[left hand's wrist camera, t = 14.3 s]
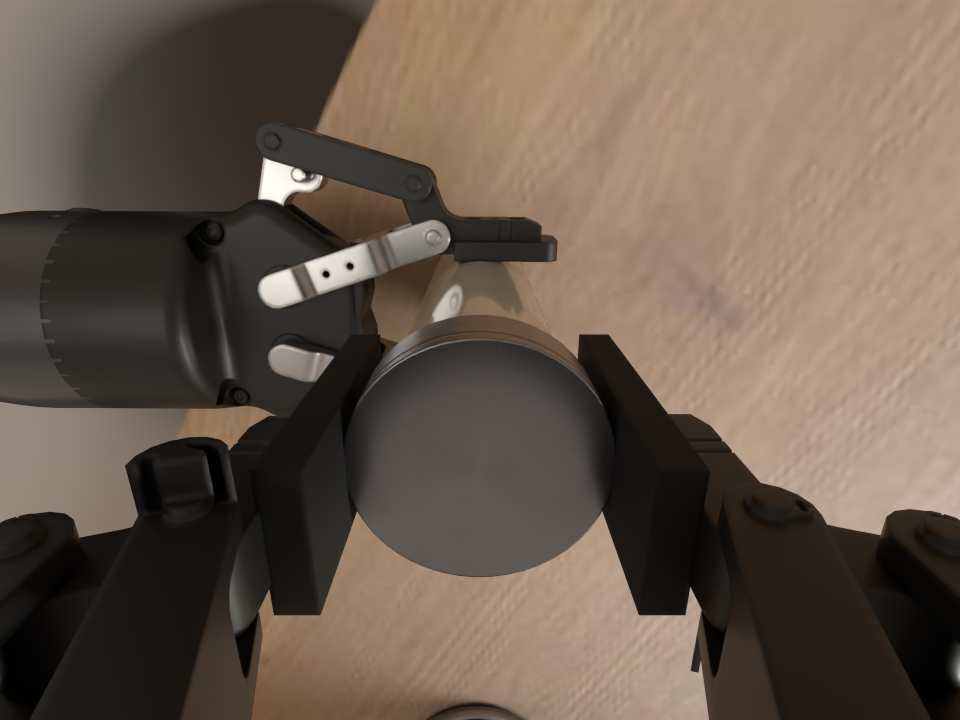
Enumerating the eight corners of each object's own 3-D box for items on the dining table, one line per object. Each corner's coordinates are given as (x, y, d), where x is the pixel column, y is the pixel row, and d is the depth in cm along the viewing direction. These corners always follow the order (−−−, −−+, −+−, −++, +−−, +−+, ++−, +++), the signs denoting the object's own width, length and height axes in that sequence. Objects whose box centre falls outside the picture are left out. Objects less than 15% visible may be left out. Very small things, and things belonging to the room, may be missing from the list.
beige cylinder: (445, 330, 28) (399, 554, 12) (426, 244, 26) (343, 368, 10) (530, 314, 27) (601, 523, 11) (516, 226, 26) (575, 326, 10)
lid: (601, 519, 13) (617, 568, 11) (380, 535, 13) (366, 586, 11) (597, 302, 11) (617, 326, 9) (340, 324, 11) (317, 351, 9)
